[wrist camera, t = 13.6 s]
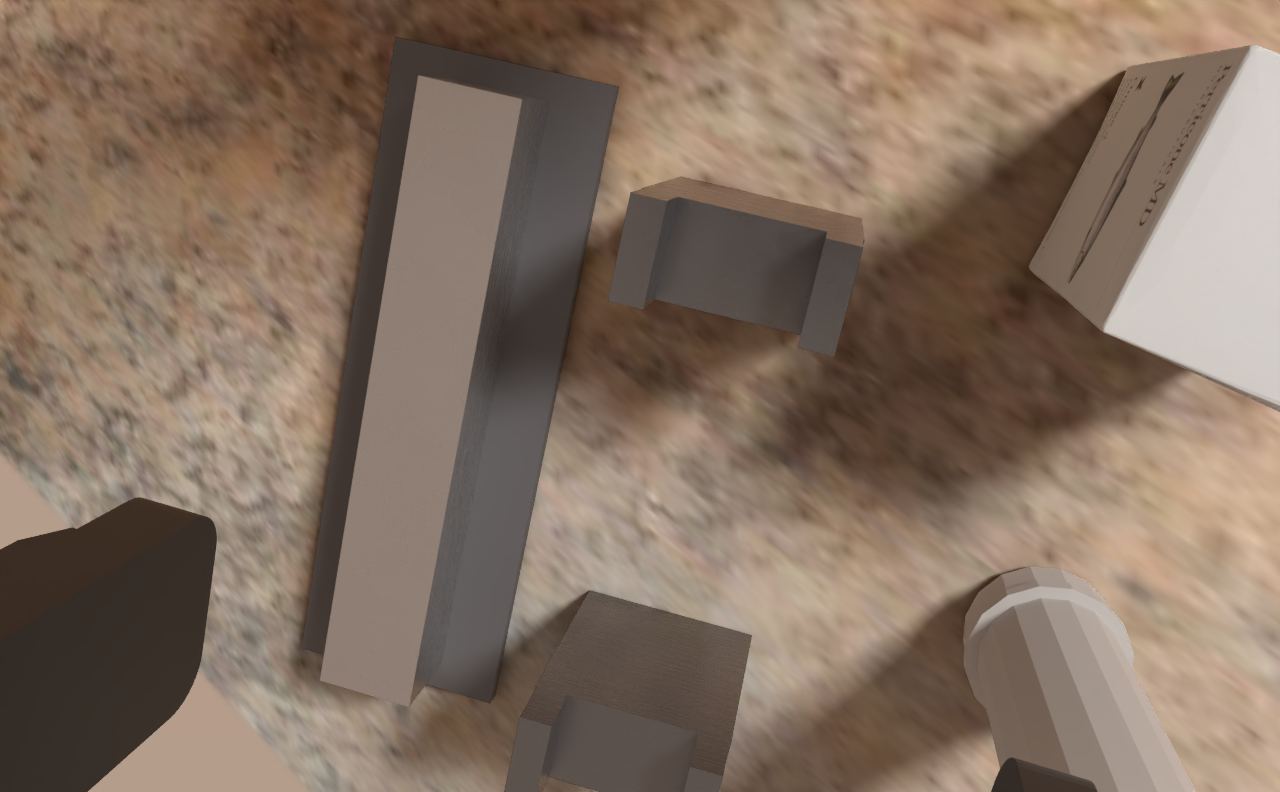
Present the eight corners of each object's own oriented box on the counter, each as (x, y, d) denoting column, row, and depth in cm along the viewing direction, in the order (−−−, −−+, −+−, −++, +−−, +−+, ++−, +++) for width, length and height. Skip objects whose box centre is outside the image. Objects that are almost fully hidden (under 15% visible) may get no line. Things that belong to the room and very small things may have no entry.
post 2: (589, 590, 45) (518, 716, 35) (751, 635, 44) (724, 776, 34) (574, 659, 46) (500, 801, 36) (733, 705, 45) (701, 862, 35)
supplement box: (1125, 58, 38) (1257, 26, 25) (1345, 150, 37) (1586, 162, 25) (1018, 269, 40) (1091, 331, 27) (1224, 359, 39) (1393, 463, 27)
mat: (401, 38, 41) (395, 37, 41) (618, 86, 40) (615, 86, 40) (308, 641, 47) (301, 648, 47) (494, 695, 47) (490, 703, 46)
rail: (453, 79, 41) (418, 75, 37) (549, 101, 40) (522, 99, 37) (358, 640, 46) (319, 680, 43) (441, 664, 46) (408, 707, 43)
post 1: (681, 176, 41) (628, 191, 31) (861, 218, 40) (865, 247, 30) (662, 260, 41) (606, 300, 32) (839, 303, 41) (836, 357, 31)
